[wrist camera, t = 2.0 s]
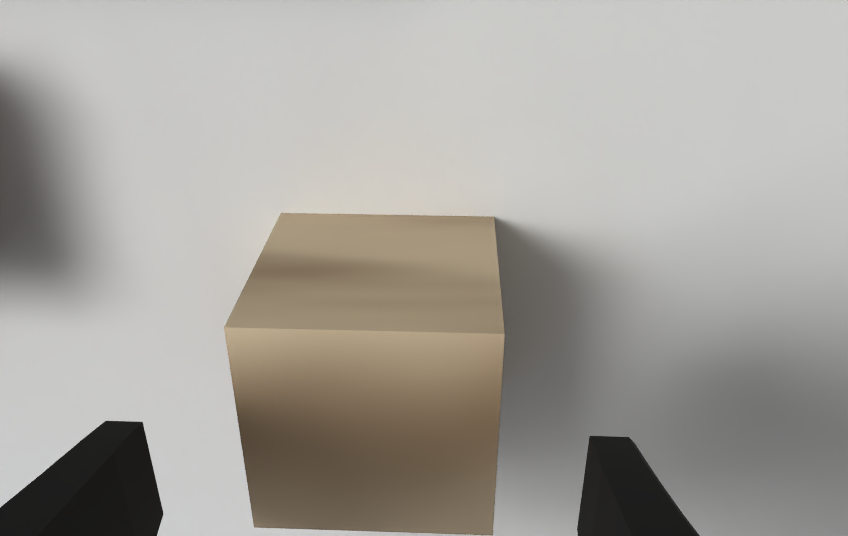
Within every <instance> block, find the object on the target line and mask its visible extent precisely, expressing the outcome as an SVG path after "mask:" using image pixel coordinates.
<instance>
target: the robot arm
mask: <svg viewBox="0 0 848 536" xmlns="http://www.w3.org/2000/svg"><path fill="white" fill-rule="evenodd" d="M162 516H163V510H162V506H161V501H160V497H159V493H158V488H157V484H156V479H155V475H154V471H153V466H152V462H151V457H150V453H149V449H148V444H147V440H146V435H145V431H144V427H143V422H124V421H105V422H104V423H103V424H101V425H100V426H99V427H97V428H96V429H95V430H94V431H92V432H91V433H90V434H89V435H88V436H86V437H85V438H84V439H83V440H81V441H80V442H79V443H78V444H77V445H75V446H74V447H73V448H72V449H71V450H70V451H68V452H67V453H66V454H65V455H64V456H62V457H61V458H60V459H59V460H58V461H56V462H55V463H54V464H53V465H52V466H50V467H49V468H48V469H47V470H46V471H45V472H43V473H42V474H41V475H40V476H38V477H37V478H36V479H35V480H34V481H32V482H31V483H30V484H29V485H27V486H26V487H25V488H24V489H23V490H21V491H20V492H19V493H18V494H16V495H15V496H14V497H13V498H12V499H10V500H9V501H8V502H7V503H5V504H4V505H3V506H2V507H0V536H157V533H158V530H159V526H160V523H161V520H162ZM577 530H578V536H699V534H698V533H697V532H696V530H695V529H694V528H693V527H692V525H691V524H690V523H689V521H688V520H687V519H686V517H685V516H684V515H683V513H682V512H681V511H680V509H679V508H678V507H677V505H676V504H675V502H674V501H673V500H672V498H671V497H670V495H669V494H668V492H667V491H666V490H665V488H664V487H663V485H662V484H661V483H660V481H659V480H658V478H657V477H656V475H655V474H654V472H653V471H652V469H651V468H650V466H649V465H648V463H647V462H646V460H645V459H644V457H643V456H642V454H641V452H640V451H639V449H638V448H637V446H636V445H635V443H634V442H633V441H632V440H631V439H630V438H629V437H605V436H590V438H589V446H588V453H587V461H586V468H585V476H584V483H583V490H582V498H581V505H580V513H579V520H578V528H577Z"/></svg>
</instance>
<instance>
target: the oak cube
mask: <svg viewBox="0 0 848 536" xmlns="http://www.w3.org/2000/svg"><path fill="white" fill-rule="evenodd" d="M224 330H225V336H226V343H227V350H228V356H229V363H230V370H231V376H232V383H233V390H234V396H235V403H236V410H237V416H238V423H239V430H240V436H241V443H242V450H243V456H244V463H245V470H246V476H247V483H248V490H249V496H250V503H251V510H252V516H253V523H254V527H258V528H288V529H319V530H349V531H379V532H410V533H440V534H471V535H493V521H494V504H495V488H496V471H497V455H498V438H499V421H500V405H501V388H502V371H503V355H504V338H505V331H504V320H503V309H502V298H501V287H500V276H499V265H498V254H497V243H496V232H495V221H494V217H478V216H420V215H363V214H306V213H281V214H280V216H279V218H278V220H277V222H276V224H275V226H274V228H273V230H272V232H271V234H270V236H269V238H268V240H267V242H266V244H265V246H264V248H263V250H262V252H261V254H260V256H259V258H258V260H257V262H256V264H255V266H254V268H253V270H252V272H251V274H250V276H249V278H248V281H247V283H246V285H245V287H244V289H243V291H242V293H241V295H240V297H239V299H238V301H237V303H236V305H235V307H234V309H233V311H232V313H231V315H230V317H229V319H228V321H227V323H226V325H225V327H224Z"/></svg>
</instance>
